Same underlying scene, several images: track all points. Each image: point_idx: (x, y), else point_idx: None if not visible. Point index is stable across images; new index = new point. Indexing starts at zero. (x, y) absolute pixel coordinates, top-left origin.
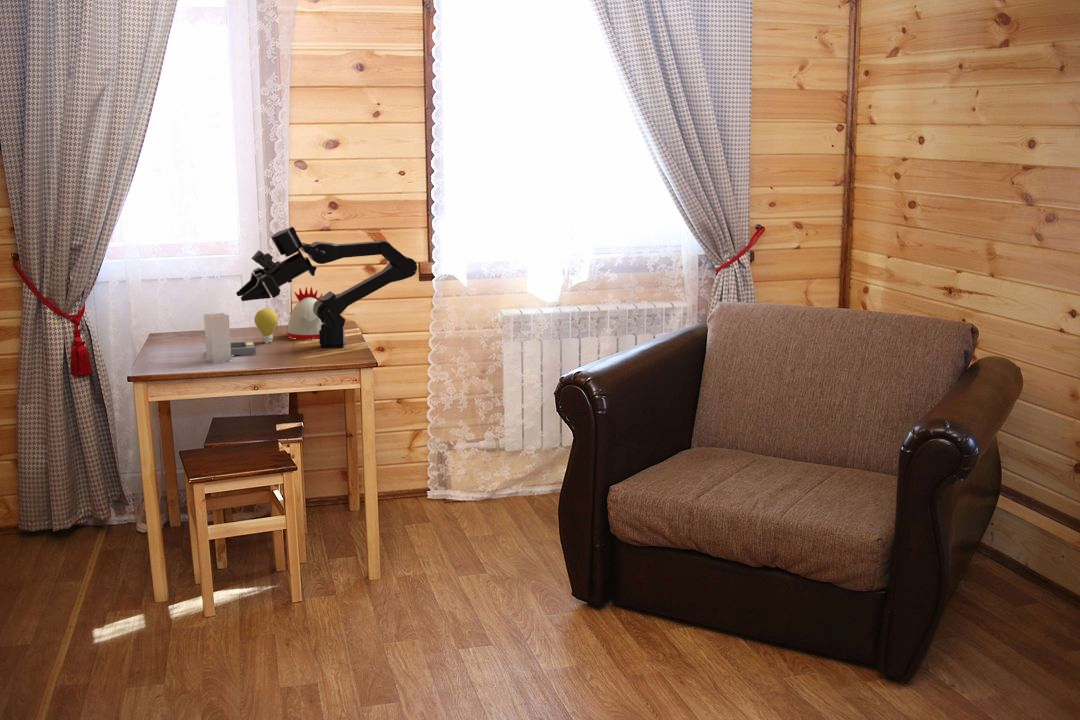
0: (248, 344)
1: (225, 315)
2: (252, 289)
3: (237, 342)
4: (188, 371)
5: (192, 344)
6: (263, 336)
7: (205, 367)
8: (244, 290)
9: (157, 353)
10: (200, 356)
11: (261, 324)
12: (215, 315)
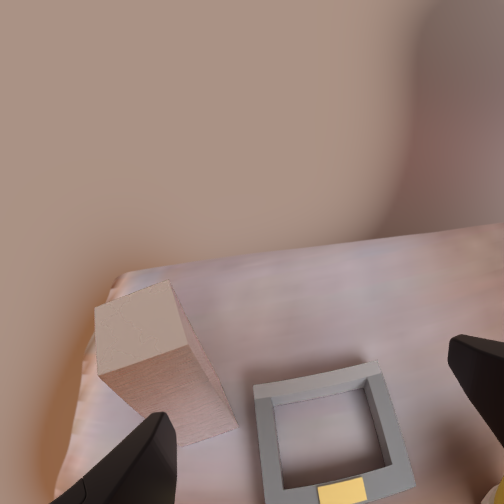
0: (324, 492)
1: (104, 362)
2: (66, 494)
3: (388, 440)
4: None
5: (449, 300)
6: (490, 495)
7: None
8: (492, 386)
9: (337, 258)
10: (282, 355)
11: (497, 492)
12: (126, 322)
